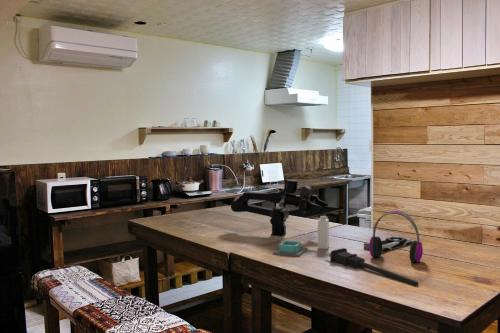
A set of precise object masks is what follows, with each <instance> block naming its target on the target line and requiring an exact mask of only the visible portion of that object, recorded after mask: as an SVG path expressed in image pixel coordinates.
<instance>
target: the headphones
mask: <svg viewBox="0 0 500 333" xmlns="http://www.w3.org/2000/svg"><path fill="white" fill-rule="evenodd" d="M391 214H392V215H393V214H394V215H395V214H396V215H400V216H402V217H404V218H405V219H406V220H408V222H409V223H411V225H412V227H413V228H414V231H415V233H416V239H417V240H412V243H411V244H410V245H409V246H410V248H409V261H410V262H411V263H415V262H416V263H419V264H420V261H421V260H422V257H423V254H424V253H423V250H424V248H423V242H422V241H420V232H419V229H418V227H417V224H416V223H415V221H414V219H413V218H412V217H411V216H410V215H409V214H407V213H406V212H403V211H399V210H391V211H388V212H386V213H384V214H383V215H381V216H380V217H379V218H378V219H377V220H376V222H375V224H374V227H373V229H372V236H371V237H370V239H369V242H370V244H369V249H370V250H369V249H368V250H369V254H370V256H371V258H377V259H378V258H380V257H381V256H382V254H383V253H382V241H381V240H382V238H381V237H380V236H376V233H377V232H376V231H377V230H376V229H377V226H378V224H379V222H380V221H381V220H382V218H384V217H385V216H387V215H391Z"/></svg>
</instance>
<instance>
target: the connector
mask: <svg viewBox="0 0 500 333" xmlns="http://www.w3.org/2000/svg"><path fill="white" fill-rule="evenodd" d="M329 221H330V219H329V218H327V216H326V215H320V218H319V219H318V220H317V248H318V249H322V250H323V249H325V250H327V249H328V248H329V245H330V243H329V242H330V239H329V238H330V236H329V234H330V233H329V232H330V230H329V229H330V228H329V227H330V222H329Z"/></svg>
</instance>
